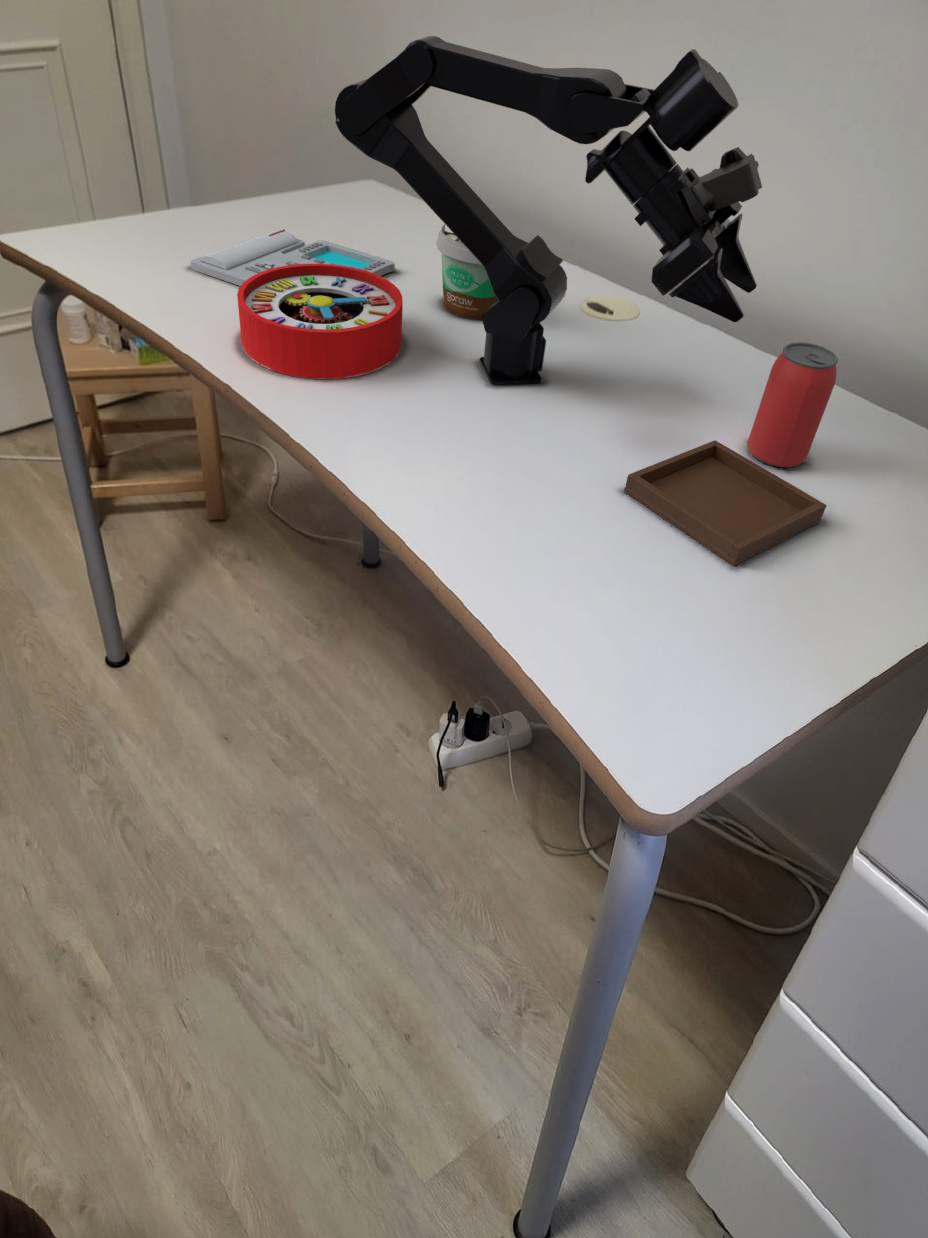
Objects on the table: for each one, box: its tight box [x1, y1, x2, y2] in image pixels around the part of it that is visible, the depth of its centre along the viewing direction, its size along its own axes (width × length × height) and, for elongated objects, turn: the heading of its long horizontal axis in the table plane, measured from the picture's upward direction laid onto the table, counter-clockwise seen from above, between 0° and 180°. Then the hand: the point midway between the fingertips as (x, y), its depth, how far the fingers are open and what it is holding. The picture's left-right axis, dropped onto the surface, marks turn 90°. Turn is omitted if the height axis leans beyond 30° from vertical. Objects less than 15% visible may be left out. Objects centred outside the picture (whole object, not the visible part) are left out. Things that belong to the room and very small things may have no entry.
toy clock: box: [236, 264, 404, 380], centre depth 110 cm, size 20×6×20 cm
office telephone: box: [189, 228, 396, 287], centre depth 128 cm, size 23×3×20 cm
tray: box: [623, 439, 827, 567], centre depth 89 cm, size 15×14×2 cm
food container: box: [435, 223, 498, 321], centre depth 119 cm, size 12×6×10 cm, turn 68°
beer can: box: [746, 341, 839, 469], centre depth 95 cm, size 7×7×12 cm
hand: (746, 303), depth 94 cm, fingers open, 9 cm apart
